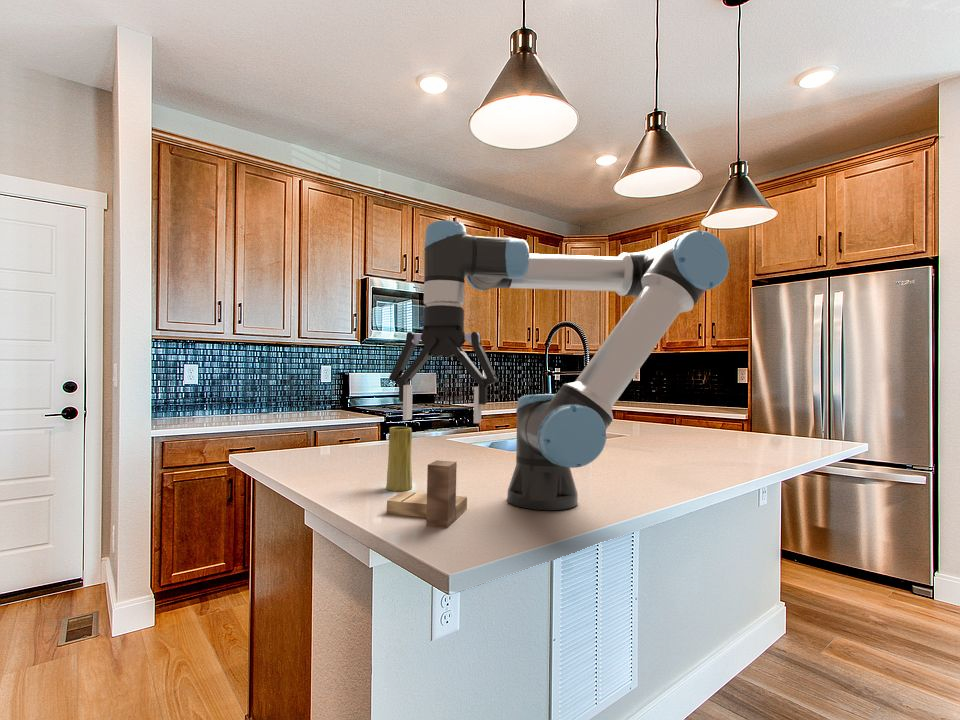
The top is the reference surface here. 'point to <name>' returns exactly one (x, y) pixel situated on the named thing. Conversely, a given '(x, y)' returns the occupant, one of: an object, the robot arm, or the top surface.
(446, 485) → the upright wooden block
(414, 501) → the board
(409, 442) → the vase
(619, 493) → the top surface
